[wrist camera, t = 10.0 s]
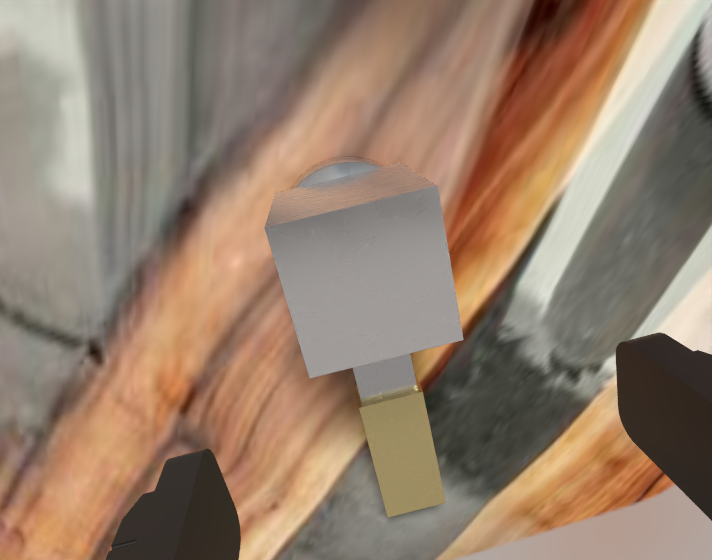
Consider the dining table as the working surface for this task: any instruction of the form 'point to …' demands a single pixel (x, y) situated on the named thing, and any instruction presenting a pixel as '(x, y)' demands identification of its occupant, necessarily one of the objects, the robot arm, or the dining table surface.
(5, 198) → the dining table surface
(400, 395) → the ratchet
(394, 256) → the brushed steel cube
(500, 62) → the dining table surface
